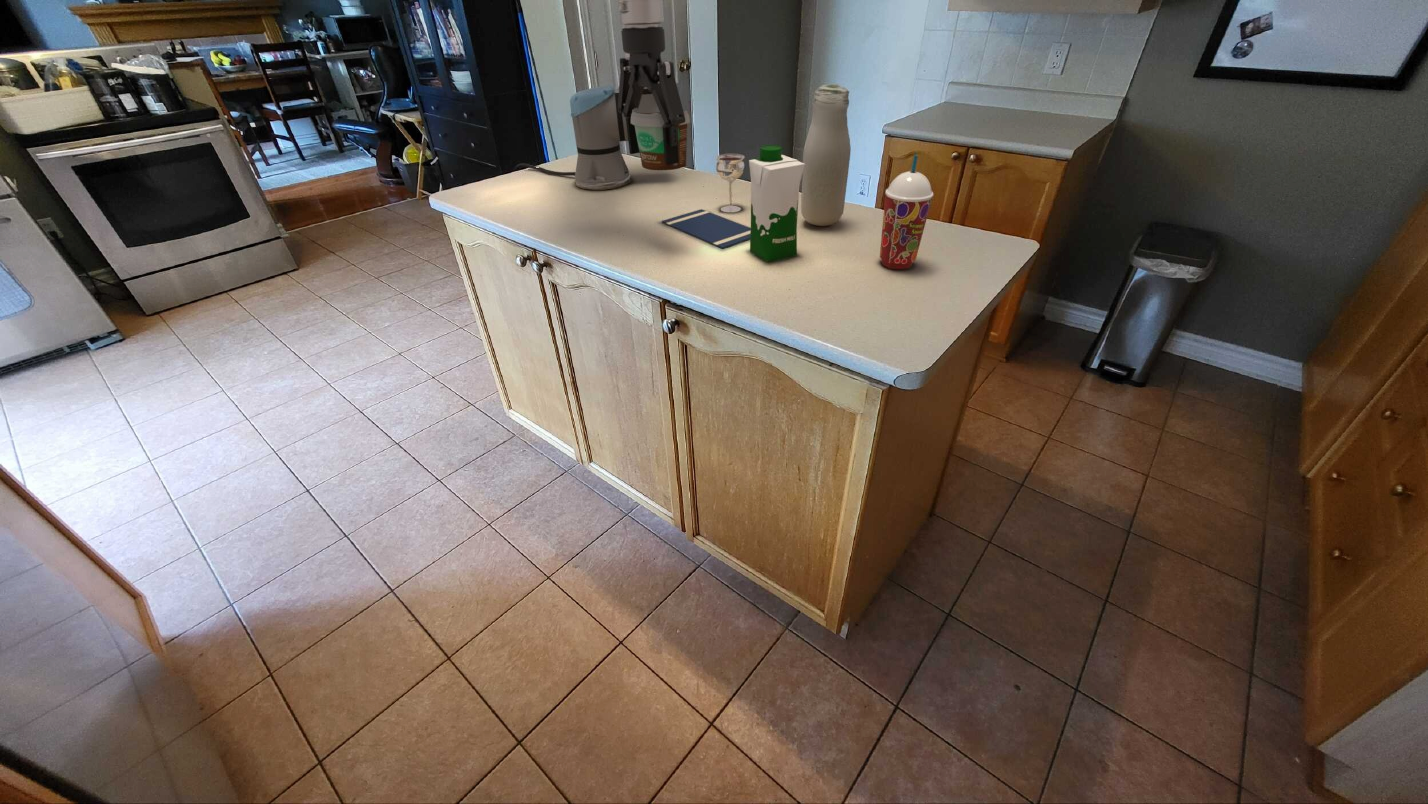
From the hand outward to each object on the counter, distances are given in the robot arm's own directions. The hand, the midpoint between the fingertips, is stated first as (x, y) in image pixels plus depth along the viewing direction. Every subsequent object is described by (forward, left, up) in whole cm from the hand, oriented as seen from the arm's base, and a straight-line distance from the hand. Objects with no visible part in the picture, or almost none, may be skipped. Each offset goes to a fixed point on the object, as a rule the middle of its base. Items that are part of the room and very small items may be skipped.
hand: (653, 158), depth 112 cm
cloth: (0, +14, -18) cm, 22 cm away
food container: (+1, 0, -2) cm, 2 cm away
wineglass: (-7, +26, -18) cm, 32 cm away
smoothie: (+40, +28, -18) cm, 52 cm away
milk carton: (+20, +14, -18) cm, 30 cm away
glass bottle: (+15, +34, -18) cm, 41 cm away
